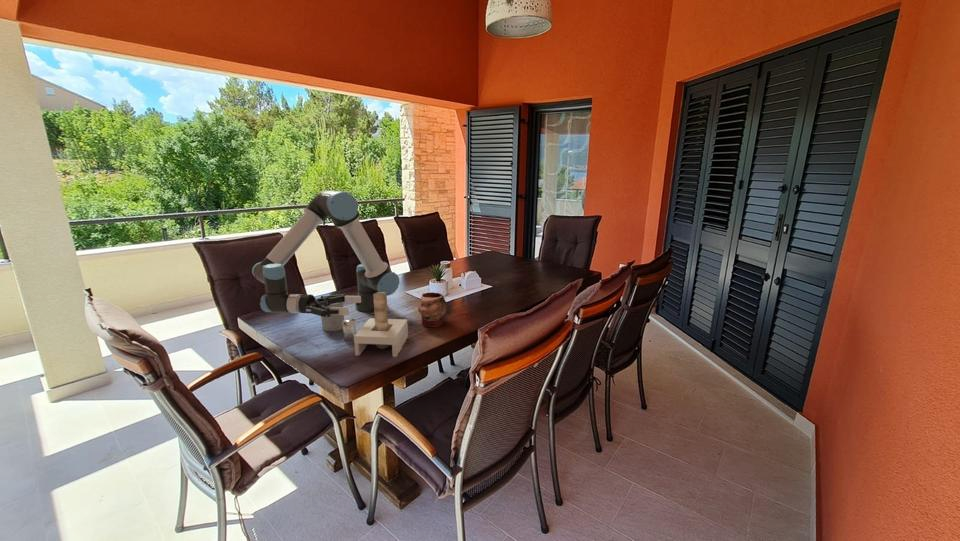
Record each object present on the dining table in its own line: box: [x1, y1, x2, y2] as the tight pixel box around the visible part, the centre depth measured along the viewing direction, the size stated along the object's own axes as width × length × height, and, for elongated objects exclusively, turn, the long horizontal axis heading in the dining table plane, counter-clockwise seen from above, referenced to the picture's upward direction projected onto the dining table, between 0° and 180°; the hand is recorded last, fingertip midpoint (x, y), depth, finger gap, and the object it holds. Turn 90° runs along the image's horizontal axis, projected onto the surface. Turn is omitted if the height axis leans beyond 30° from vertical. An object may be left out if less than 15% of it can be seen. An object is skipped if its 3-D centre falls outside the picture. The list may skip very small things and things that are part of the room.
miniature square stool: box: [353, 317, 409, 358], centre depth 153 cm, size 18×16×8 cm
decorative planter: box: [417, 292, 448, 328], centre depth 177 cm, size 20×12×14 cm, turn 168°
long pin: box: [373, 292, 390, 349], centre depth 152 cm, size 5×5×22 cm
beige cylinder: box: [320, 302, 345, 332], centre depth 171 cm, size 10×10×12 cm
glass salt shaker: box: [342, 317, 357, 342], centre depth 160 cm, size 5×5×8 cm
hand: (354, 305), depth 151 cm, fingers open, 13 cm apart
